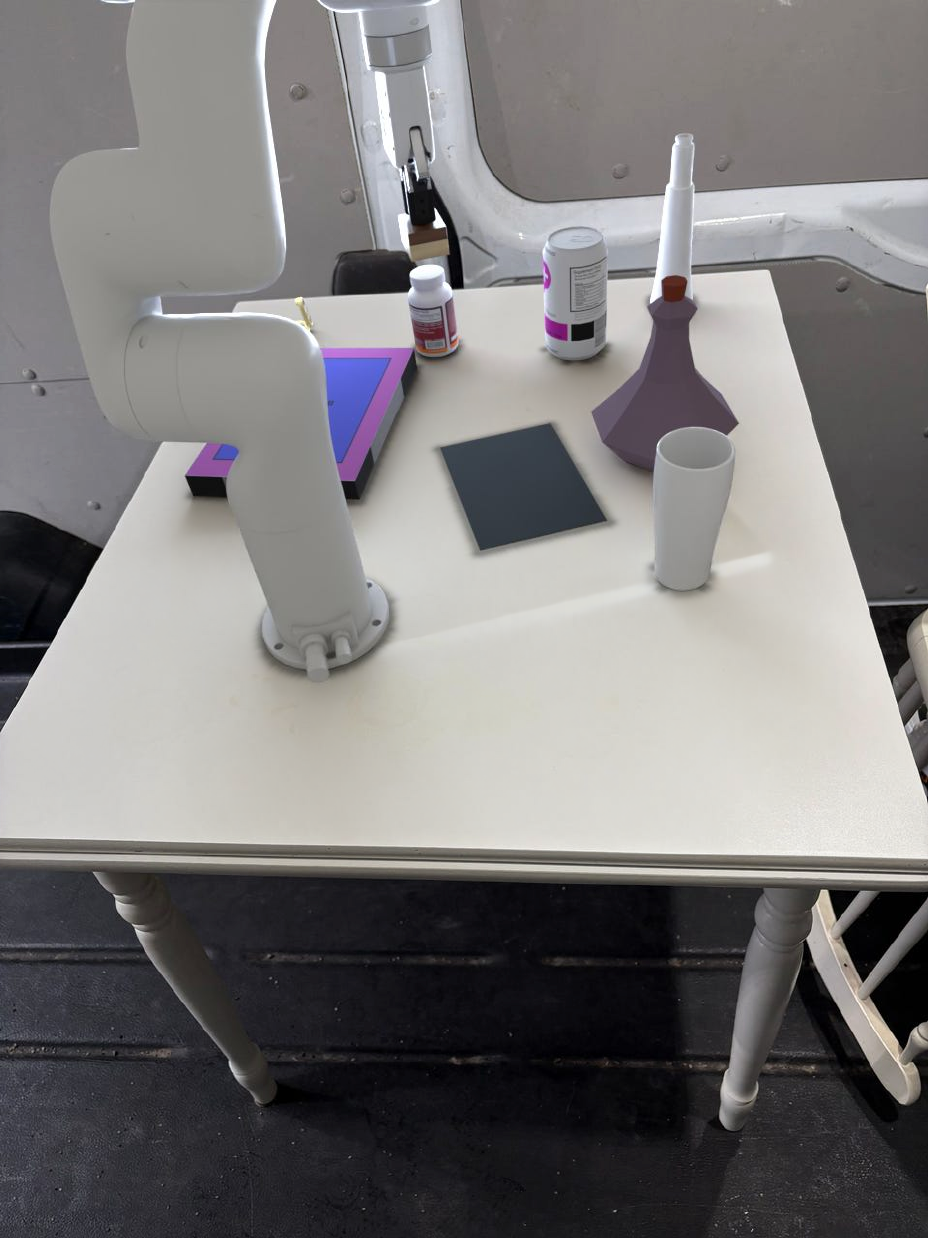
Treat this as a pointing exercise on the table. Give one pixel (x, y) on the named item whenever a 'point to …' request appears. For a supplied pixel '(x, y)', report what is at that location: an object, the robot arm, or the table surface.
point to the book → (336, 417)
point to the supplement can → (575, 292)
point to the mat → (519, 486)
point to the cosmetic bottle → (677, 218)
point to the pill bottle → (432, 312)
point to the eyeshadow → (304, 313)
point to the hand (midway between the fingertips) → (420, 215)
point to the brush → (423, 235)
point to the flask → (662, 387)
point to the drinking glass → (689, 503)
